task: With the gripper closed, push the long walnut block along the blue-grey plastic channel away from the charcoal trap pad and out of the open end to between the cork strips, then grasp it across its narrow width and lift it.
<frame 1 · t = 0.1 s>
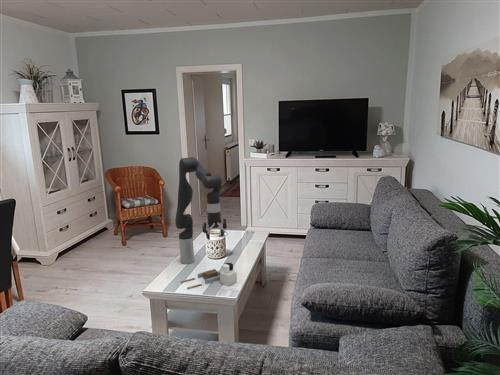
hand: (215, 237, 218), 29 cm above the table, fingers open, 8 cm apart
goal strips: (191, 283, 227), on the table
channel: (210, 278, 233), on the table
block: (210, 278, 233), on the table
medicine bottle: (228, 283, 226), on the table
trap pad: (222, 275, 237), on the table
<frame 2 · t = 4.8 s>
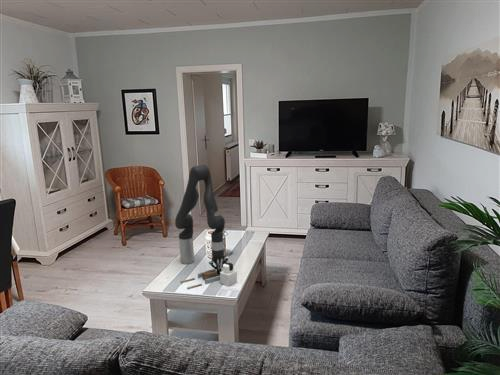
hand: (219, 274, 236), 1 cm above the table, fingers closed
block: (209, 278, 233), on the table, touching gripper
everything else where it was.
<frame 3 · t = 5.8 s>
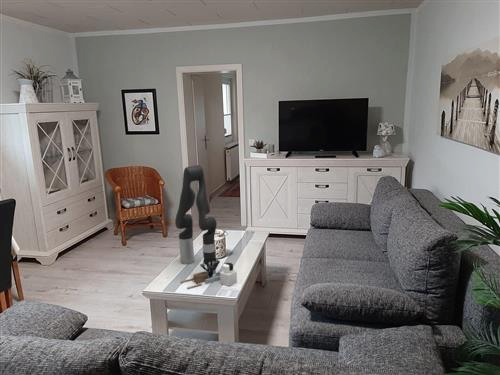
hand: (210, 276, 233), 1 cm above the table, fingers closed
block: (201, 281, 230), on the table, touching gripper
everything else where it was.
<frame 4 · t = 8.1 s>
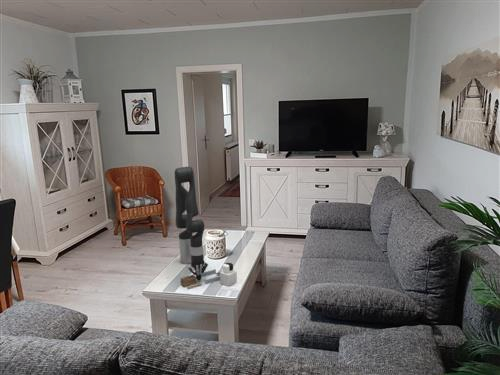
hand: (198, 280, 229), 1 cm above the table, fingers closed
block: (188, 284, 226), on the table
everything else where it was.
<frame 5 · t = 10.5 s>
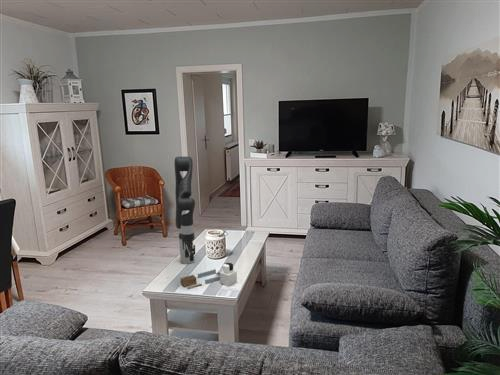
hand: (189, 259, 224), 16 cm above the table, fingers open, 6 cm apart
nothing on the table moved.
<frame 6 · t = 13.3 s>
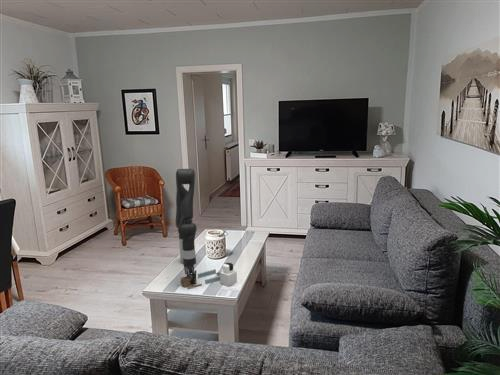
hand: (191, 283, 227), 0 cm above the table, fingers closed on block, 4 cm apart
block: (188, 284, 226), on the table, touching gripper
everything else where it was.
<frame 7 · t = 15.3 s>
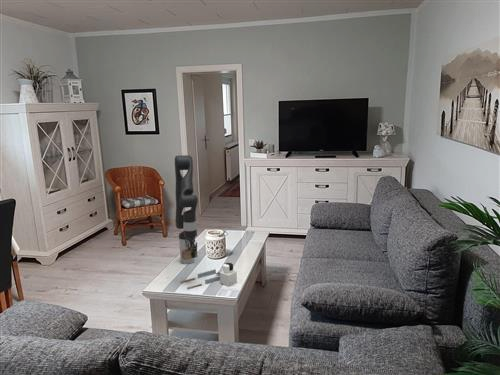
hand: (191, 255, 225), 17 cm above the table, fingers closed on block, 4 cm apart
block: (189, 257, 225), point 16 cm above the table, touching gripper
everything else where it was.
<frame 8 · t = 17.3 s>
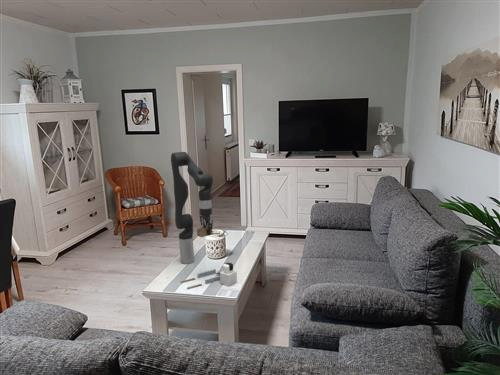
hand: (206, 233, 232), 27 cm above the table, fingers closed on block, 4 cm apart
block: (205, 235, 231), point 27 cm above the table, touching gripper
everything else where it was.
at the end: block point 26.8 cm above the table; the gripper is holding block; block moved 27.1 cm from its start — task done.
